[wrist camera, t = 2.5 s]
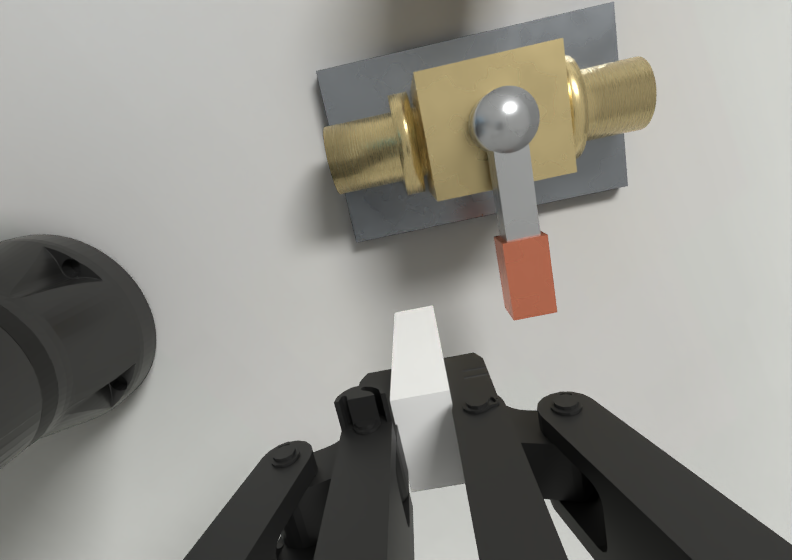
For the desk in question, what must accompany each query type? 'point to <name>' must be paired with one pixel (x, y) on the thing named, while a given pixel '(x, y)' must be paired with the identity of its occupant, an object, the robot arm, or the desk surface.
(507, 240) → the lever
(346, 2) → the desk surface
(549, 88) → the valve block
